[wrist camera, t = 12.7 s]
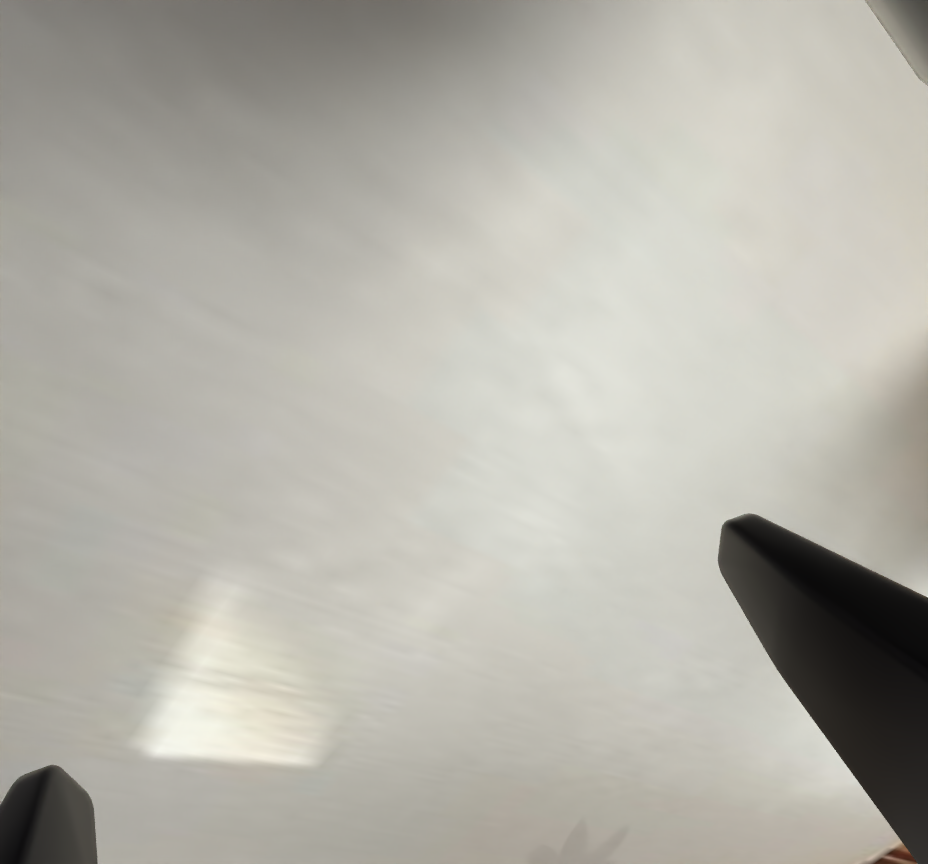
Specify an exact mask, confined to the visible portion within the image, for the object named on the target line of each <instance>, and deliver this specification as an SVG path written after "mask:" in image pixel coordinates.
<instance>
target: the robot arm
mask: <svg viewBox="0 0 928 864" xmlns="http://www.w3.org/2000/svg"><path fill="white" fill-rule="evenodd" d="M865 1H866V2H867V4H868V5H869V7H870V8H871V10H872V11H873V13H874V14H875V15H876V17H877V18H878V20H879V21H880V23H881V24H882V26H883V27H884V28H885V30H886V31H887V33H888V34H889V36H890V37H891V39H892V40H893V42H894V43H895V44H896V46H897V47H898V49H899V50H900V52H901V53H902V55H903V56H904V58H905V59H906V60H907V62H908V63H909V65H910V66H911V68H912V69H913V71H914V72H915V74H916V75H917V76H918V78H919V79H920V80H921V81H923V82H924V83H925V84H926V85H928V0H865ZM718 564H719V568H720V571H721V573H722V576H723V577H724V579H725V581H726V583H727V584H728V586H729V588H730V590H731V591H732V593H733V595H734V596H735V598H736V600H737V602H738V603H739V605H740V607H741V609H742V610H743V612H744V614H745V616H746V617H747V619H748V621H749V622H750V624H751V626H752V628H753V629H754V631H755V633H756V635H757V636H758V638H759V640H760V642H761V643H762V645H763V647H764V648H765V650H766V652H767V654H768V655H769V657H770V659H771V660H772V662H773V663H774V665H775V667H776V668H777V670H778V671H779V673H780V674H781V676H782V677H783V679H784V680H785V681H786V683H787V684H788V686H789V687H790V688H791V690H792V691H793V693H794V694H795V695H796V697H797V698H798V699H799V701H800V702H801V704H802V705H803V706H804V708H805V709H806V710H807V712H808V713H809V715H810V716H811V717H812V719H813V720H814V721H815V723H816V724H817V726H818V727H819V728H820V730H821V731H822V732H823V734H824V735H825V737H826V738H827V739H828V741H829V742H830V743H831V745H832V746H833V748H834V749H835V750H836V752H837V753H838V754H839V756H840V757H841V759H842V760H843V761H844V763H845V764H846V765H847V767H848V768H849V770H850V771H851V772H852V774H853V775H854V776H855V778H856V779H857V780H858V782H859V783H860V785H861V786H862V787H863V789H864V790H865V791H866V793H867V794H868V796H869V797H870V798H871V800H872V801H873V802H874V804H875V805H876V807H877V808H878V809H879V811H880V812H881V813H882V815H883V816H884V818H885V819H886V820H887V822H888V823H889V824H890V826H891V827H892V829H893V830H894V831H895V833H896V834H897V835H898V837H899V838H900V840H901V841H902V842H903V844H904V845H905V846H906V848H907V849H908V851H909V852H910V853H911V855H912V856H913V857H914V859H915V860H916V862H917V863H918V864H928V598H927V597H925V596H923V595H921V594H919V593H917V592H915V591H913V590H911V589H909V588H907V587H905V586H903V585H901V584H898V583H896V582H894V581H892V580H890V579H888V578H886V577H884V576H882V575H880V574H878V573H876V572H874V571H872V570H870V569H868V568H865V567H863V566H861V565H859V564H857V563H855V562H853V561H851V560H849V559H847V558H845V557H843V556H841V555H839V554H837V553H834V552H832V551H830V550H828V549H826V548H824V547H822V546H820V545H818V544H816V543H814V542H812V541H810V540H808V539H806V538H804V537H801V536H799V535H797V534H795V533H793V532H791V531H789V530H787V529H785V528H783V527H781V526H779V525H777V524H775V523H773V522H771V521H768V520H766V519H764V518H762V517H760V516H758V515H755V514H744V515H741V516H738V517H736V518H733V519H730V520H727V521H726V522H725V523H724V524H723V525H722V529H721V537H720V546H719V554H718ZM0 864H98V863H97V848H96V833H95V819H94V808H93V804H92V801H91V798H90V796H89V794H88V793H87V792H86V791H85V790H84V789H83V788H82V787H81V786H80V785H79V784H78V783H77V782H76V781H75V780H74V779H73V778H71V777H70V776H69V775H68V774H67V773H66V772H65V771H64V770H63V769H62V768H60V767H59V766H56V765H49V766H46V767H44V768H41V769H38V770H35V771H32V772H30V773H27V774H24V775H23V776H21V777H19V778H18V779H17V780H16V781H15V782H14V783H13V785H12V786H11V788H10V789H9V791H8V793H7V794H6V796H5V798H4V799H3V801H2V803H1V804H0Z"/></svg>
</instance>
